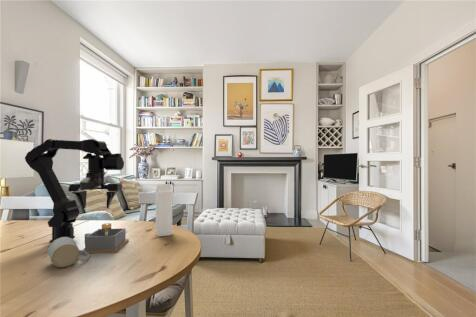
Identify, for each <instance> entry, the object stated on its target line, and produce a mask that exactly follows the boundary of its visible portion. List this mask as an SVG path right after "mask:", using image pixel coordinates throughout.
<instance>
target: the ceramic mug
mask: <svg viewBox="0 0 476 317" xmlns="http://www.w3.org/2000/svg"><path fill="white" fill-rule="evenodd" d="M81 250H82V249H80V248H79V246H78V244H77V241H75V239H73V238H69V237H61V238H58V239H56V240H55V241H53V242H50V244H49V246H48V248H47V255H48V258H49V260H50V262H51V264H52V265H53V266H55V267H56V268H67V267H71V266H72V265H73V264H75V262H77V261H82V262H85V261H88V260H89V258H90V255H91V254H90V253H87V252H84V251H81Z"/></svg>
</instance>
